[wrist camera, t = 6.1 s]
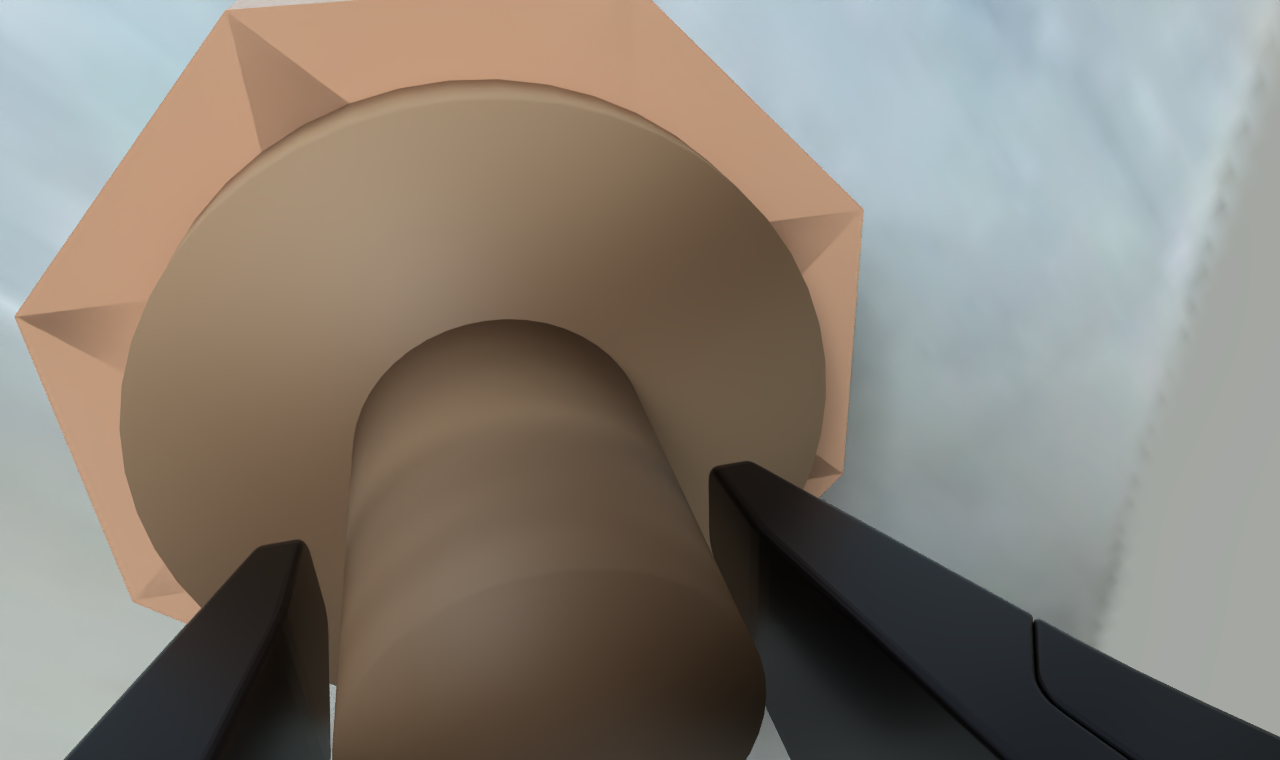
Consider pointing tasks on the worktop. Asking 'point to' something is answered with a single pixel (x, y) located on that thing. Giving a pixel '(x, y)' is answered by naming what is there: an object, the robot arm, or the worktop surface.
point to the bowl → (355, 70)
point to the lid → (483, 416)
